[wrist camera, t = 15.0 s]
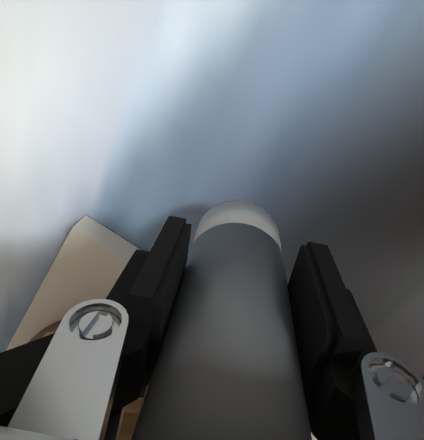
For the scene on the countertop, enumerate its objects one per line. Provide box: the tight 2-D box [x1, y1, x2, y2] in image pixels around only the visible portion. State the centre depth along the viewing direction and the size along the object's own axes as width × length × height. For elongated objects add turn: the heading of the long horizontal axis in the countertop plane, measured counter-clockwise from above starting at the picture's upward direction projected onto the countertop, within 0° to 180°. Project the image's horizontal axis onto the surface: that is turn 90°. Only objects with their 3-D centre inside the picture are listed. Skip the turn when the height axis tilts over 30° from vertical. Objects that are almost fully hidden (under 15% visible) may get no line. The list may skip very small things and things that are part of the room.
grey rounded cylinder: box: [131, 200, 312, 440], centre depth 10 cm, size 4×4×10 cm
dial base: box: [5, 215, 317, 440], centre depth 23 cm, size 21×21×2 cm
